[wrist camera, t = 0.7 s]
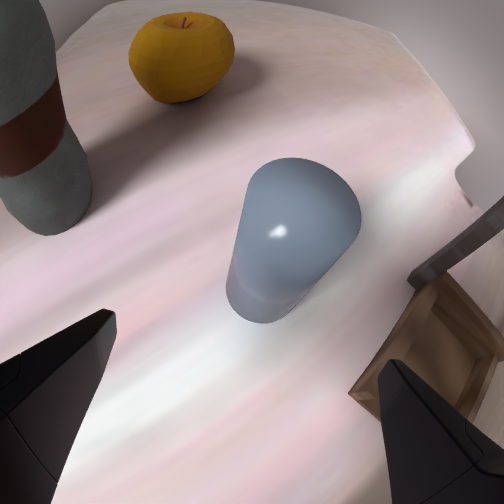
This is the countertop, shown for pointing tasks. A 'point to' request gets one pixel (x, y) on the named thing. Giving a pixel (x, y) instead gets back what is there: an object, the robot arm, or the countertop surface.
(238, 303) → the blue-grey tall cylinder
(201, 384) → the countertop surface
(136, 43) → the apple
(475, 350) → the shelf bay
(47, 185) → the bottle
